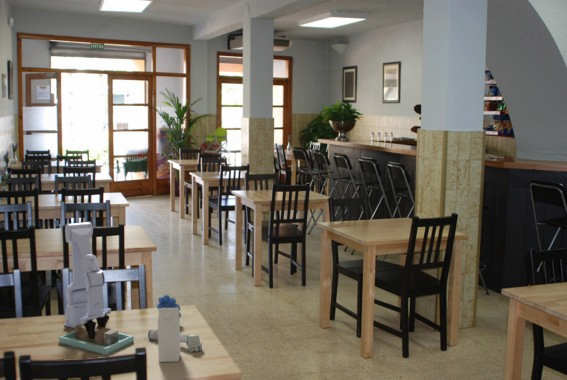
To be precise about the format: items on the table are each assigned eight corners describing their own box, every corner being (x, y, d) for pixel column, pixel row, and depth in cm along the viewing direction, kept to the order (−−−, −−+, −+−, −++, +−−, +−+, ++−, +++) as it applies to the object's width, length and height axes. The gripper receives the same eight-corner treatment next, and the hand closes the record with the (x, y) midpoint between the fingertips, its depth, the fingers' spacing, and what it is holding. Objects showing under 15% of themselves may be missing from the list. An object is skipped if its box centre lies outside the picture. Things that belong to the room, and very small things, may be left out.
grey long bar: (155, 327, 253) (203, 330, 240) (157, 343, 254) (205, 348, 240) (146, 331, 249) (194, 335, 235) (148, 347, 249) (196, 352, 236)
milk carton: (160, 354, 235) (159, 305, 232) (180, 354, 235) (179, 304, 233) (158, 362, 228) (157, 311, 225) (178, 362, 228) (177, 311, 226)
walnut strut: (75, 338, 248) (75, 325, 247) (84, 334, 252) (83, 322, 251) (109, 347, 239) (109, 334, 239) (118, 343, 243) (118, 330, 243)
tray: (59, 343, 245) (59, 337, 245) (88, 331, 258) (88, 325, 258) (105, 355, 234) (105, 348, 233) (133, 342, 247) (133, 336, 246)
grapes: (151, 323, 267) (151, 296, 266) (161, 318, 274) (160, 291, 272) (174, 327, 263) (174, 299, 261) (183, 322, 269) (183, 295, 267)
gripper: (88, 309, 235) (90, 344, 237) (116, 298, 248) (117, 332, 250) (75, 306, 239) (76, 340, 241) (103, 296, 251) (104, 329, 253)
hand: (96, 336), depth 245 cm, fingers closed on walnut strut, 4 cm apart
